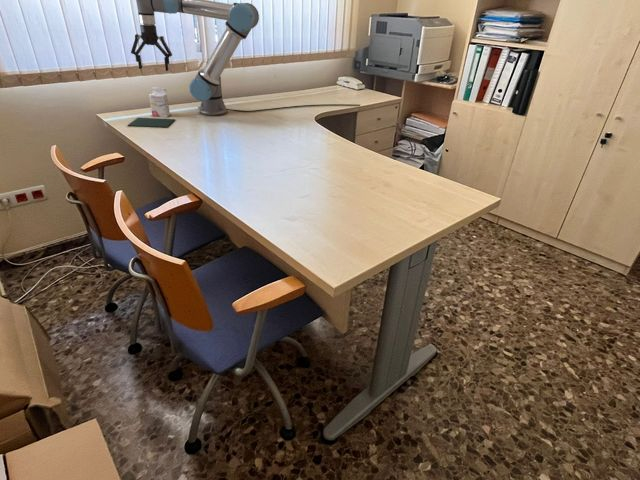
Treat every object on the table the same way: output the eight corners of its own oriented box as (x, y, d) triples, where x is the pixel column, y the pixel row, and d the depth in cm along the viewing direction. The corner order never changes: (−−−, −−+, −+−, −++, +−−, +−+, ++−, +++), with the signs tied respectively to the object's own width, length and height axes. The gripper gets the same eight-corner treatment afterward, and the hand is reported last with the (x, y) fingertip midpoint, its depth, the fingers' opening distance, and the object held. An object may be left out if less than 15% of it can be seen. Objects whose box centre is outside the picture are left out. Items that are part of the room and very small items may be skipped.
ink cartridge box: (152, 116, 221) (147, 88, 213) (156, 113, 225) (151, 86, 218) (166, 117, 221) (162, 89, 213) (170, 115, 225) (166, 88, 217)
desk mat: (175, 120, 217) (174, 119, 216) (167, 127, 205) (166, 126, 205) (138, 118, 216) (138, 117, 216) (128, 126, 204) (127, 125, 204)
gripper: (175, 25, 203) (179, 69, 214) (124, 21, 200) (131, 66, 212) (171, 27, 197) (176, 72, 208) (119, 23, 194) (127, 69, 205)
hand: (154, 69), depth 210 cm, fingers open, 13 cm apart
